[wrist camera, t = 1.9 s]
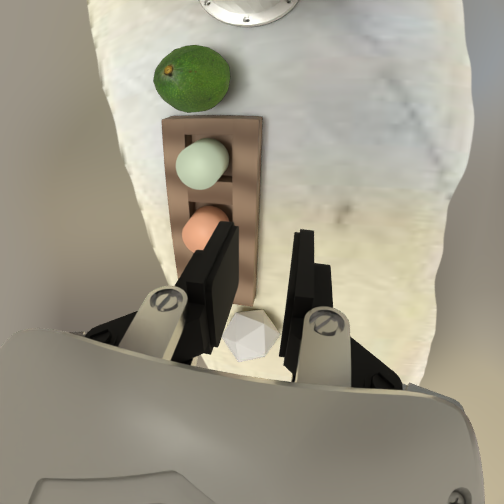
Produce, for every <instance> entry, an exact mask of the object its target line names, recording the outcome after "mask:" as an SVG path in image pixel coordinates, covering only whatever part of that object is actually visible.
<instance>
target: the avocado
mask: <svg viewBox="0 0 504 504" xmlns="http://www.w3.org/2000/svg"><path fill="white" fill-rule="evenodd" d="M153 82H154V84H155V87H156V90H157V92H158V94H159V95H160V96H161V97H162V99H163V100H164V101H166V102H167V103H168V104H170V105H171V106H172V107H174V108H175V109H177V110H180V111H183V112H187V113H191V112H200V111H206V110H209V109H211V108H213V107H214V106H216V105H217V104H218V103H219V102H220V101H221V100H222V99H223V97H224V96H225V94H226V92H227V91H228V87H229V82H230V71H229V66H228V64H227V62H226V61H225V60H224V59H223V58H222V56H221V55H220V54H219V53H217V52H215V51H214V50H212V49H210V48H208V47H203V46H199V45H190V46H184V47H181V48H178V49H175V50H173V51H172V52H171V53H170V54H168V55H167V56H166V57H165V58H164V59H162V61H161V62H160V64H159V65H158V66H157V68H156V70H155V74H154V80H153Z"/></svg>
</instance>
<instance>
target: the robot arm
mask: <svg viewBox="0 0 504 504" xmlns="http://www.w3.org/2000/svg"><path fill="white" fill-rule="evenodd" d="M287 1H291V3H290V4H289V3H287ZM199 2H200V3H201V5H202V7H203V8H204V9H205V10H206V11H207V12H208V13H209V14H210V15H211V16H213V17H214V18H216V19H218V20H219V21H221V22H224V23H227V24H230V25H234V26H240V27H253V26H261V25H264V24H268V23H271V22H273V21H275V20H278V19H280V18H281V17H283V16H284V15H286V14H287V13H288V12H289V11H290V10H291V9H292V8H294V6H295V5H296V3H297V2H298V0H199ZM208 3H211V4H210V5H209V6H208ZM248 19H249V20H250V21H249V22H248V23H247V22H246V20H248ZM238 285H239V226H235V225H234V222H227V221H220V222H219V223H218V225H217V227H216V228H215V230H214V232H213V234H212V235H211V237H210V239H209V241H208V242H207V244H206V246H205V248H204V249H203V250H196V251H195V252H194V254H193V255H192V257H191V259H190V260H189V262H188V264H187V266H186V267H185V269H184V271H183V272H182V274H181V276H180V278H179V279H178V281H177V283H176V284H175V286H163V287H159V288H157V289H155V290H153V291H152V292H150V293H149V295H148V296H147V297H146V299H145V301H144V302H143V304H142V305H141V307H140V309H139V311H136V312H133V313H131V314H128V315H126V316H123V317H120V318H118V319H115V320H112V321H109V322H107V323H104V324H102V325H99V326H96V327H94V328H92V329H91V330H90V331H89V332H88V333H87V334H85V333H84V331H81V332H80V331H79V332H63V331H59V330H54V329H44V328H34V329H26V330H21V331H18V332H16V333H14V334H13V335H12V336H11V337H9V338H8V339H7V340H6V341H5V342H4V343H3V344H2V346H1V347H0V504H485V499H484V480H483V471H482V464H481V458H480V452H479V447H478V443H477V439H476V436H475V433H474V429H473V427H472V424H471V422H470V420H469V418H468V417H467V415H466V414H465V412H464V409H463V407H462V405H461V404H460V403H459V402H458V401H456V400H454V399H452V398H450V397H447V396H444V395H441V394H438V393H435V392H433V391H430V390H428V389H425V388H422V387H420V386H417V385H414V384H412V383H409V384H408V385H405V384H402V382H401V380H400V378H399V376H398V375H397V374H396V373H395V372H394V371H392V370H391V369H390V368H389V367H387V366H386V365H385V364H384V363H382V362H381V361H380V360H379V359H377V358H376V357H375V356H374V355H373V354H371V353H370V352H369V351H368V350H366V349H365V348H364V347H363V346H361V345H360V344H359V343H358V342H356V341H355V340H354V339H353V338H352V337H350V324H349V320H348V319H347V317H346V316H345V315H344V314H343V313H342V312H341V311H339V310H337V309H335V308H333V298H332V281H331V267H330V265H326V264H317V263H314V231H312V230H304V229H300V233H298V232H295V233H294V242H293V251H292V260H291V268H290V276H289V284H288V292H287V300H286V308H285V316H284V323H283V331H282V338H281V345H280V352H279V357H285V358H284V365H283V366H285V367H286V368H287V369H288V370H289V371H290V372H291V373H292V377H291V382H287V381H279V380H271V379H264V378H257V377H251V376H244V375H238V374H232V373H227V372H221V371H216V370H211V369H205V368H200V367H196V363H197V358H198V357H197V356H199V355H201V354H203V353H205V354H210V355H211V353H212V350H213V347H218V346H219V343H220V340H221V337H222V334H223V331H224V328H225V325H226V322H227V319H228V316H229V313H230V310H231V307H232V304H233V301H234V298H235V295H236V292H237V289H238Z"/></svg>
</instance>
